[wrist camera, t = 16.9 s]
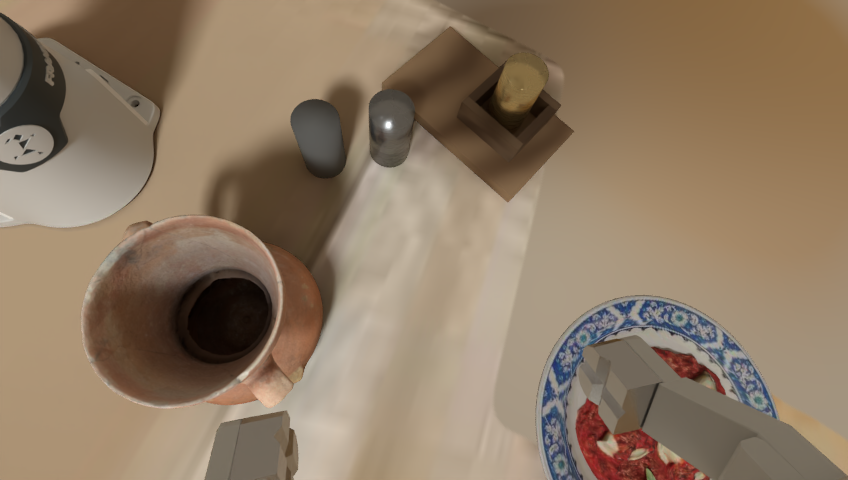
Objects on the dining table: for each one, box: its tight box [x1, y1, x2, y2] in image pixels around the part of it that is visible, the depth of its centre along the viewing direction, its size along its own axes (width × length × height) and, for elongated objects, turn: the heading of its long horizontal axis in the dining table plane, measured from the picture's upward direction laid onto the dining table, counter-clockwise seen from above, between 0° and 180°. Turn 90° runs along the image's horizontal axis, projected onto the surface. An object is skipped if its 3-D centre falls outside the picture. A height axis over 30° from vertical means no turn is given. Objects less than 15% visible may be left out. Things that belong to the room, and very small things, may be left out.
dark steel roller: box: [369, 89, 415, 167], centre depth 42 cm, size 4×4×8 cm
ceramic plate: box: [536, 295, 780, 480], centre depth 40 cm, size 26×26×3 cm
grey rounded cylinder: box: [291, 99, 346, 178], centre depth 40 cm, size 4×4×8 cm
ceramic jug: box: [81, 215, 323, 408], centre depth 32 cm, size 18×14×14 cm
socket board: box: [382, 27, 574, 202], centre depth 46 cm, size 20×12×4 cm, turn 47°
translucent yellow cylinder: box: [486, 53, 549, 134], centre depth 43 cm, size 4×4×8 cm
